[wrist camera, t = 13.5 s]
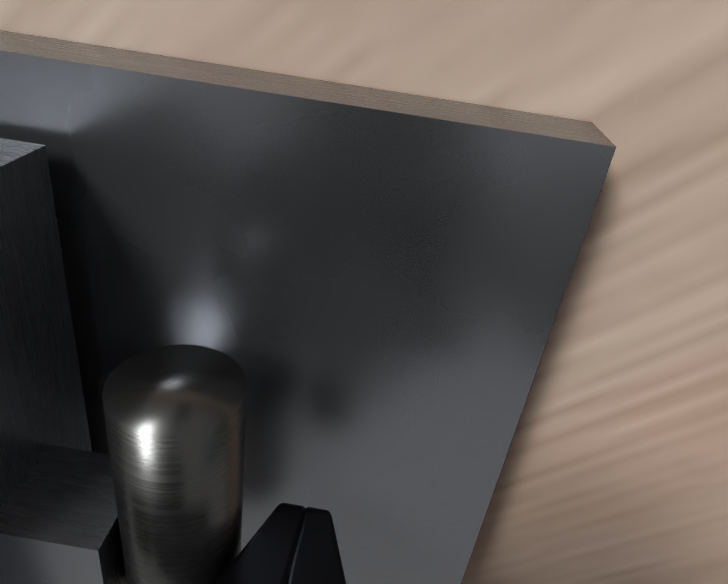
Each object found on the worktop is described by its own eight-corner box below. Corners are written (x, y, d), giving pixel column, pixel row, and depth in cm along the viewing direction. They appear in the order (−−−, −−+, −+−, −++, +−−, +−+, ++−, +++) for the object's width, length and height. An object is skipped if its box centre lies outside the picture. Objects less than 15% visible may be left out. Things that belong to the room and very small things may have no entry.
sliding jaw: (287, 183, 7) (184, 342, 4) (258, 629, 12) (201, 847, 9) (-215, 103, 7) (-662, 204, 4) (-39, 577, 12) (-191, 776, 9)
